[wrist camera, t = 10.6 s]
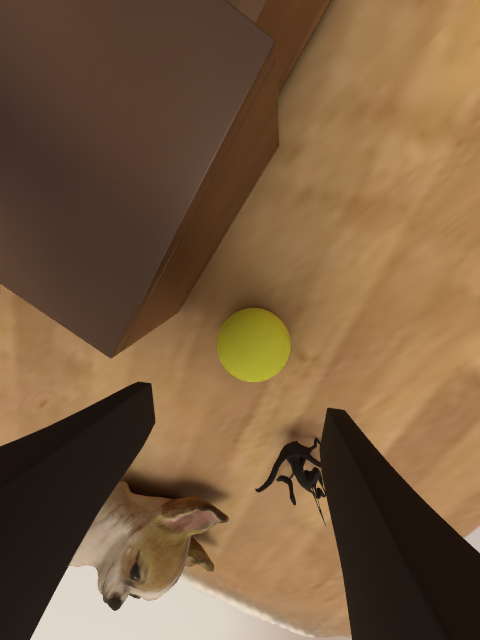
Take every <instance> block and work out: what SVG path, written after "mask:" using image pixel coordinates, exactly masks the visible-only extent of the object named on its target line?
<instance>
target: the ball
mask: <svg viewBox="0 0 480 640" xmlns="http://www.w3.org/2000/svg"><path fill="white" fill-rule="evenodd" d="M290 347H291V343H290V337H289V333H288V330H287V328H286V326H285V325H284V323H283V322H282V321H281V320H280V319H279V318H278V317H277V316H276V315H275V314H273V313H271V312H269V311H267V310H264V309H260V308H247V309H243V310H240V311H238V312H236V313H234V314H232V315H231V316H230V317H229V318H228V319H227V320H226V321H225V322H224V323H223V325H222V326H221V328H220V331H219V333H218V337H217V353H218V357H219V359H220V361H221V363H222V365H223V366H224V368H225V369H226V370H227V371H228V372H229V373H230V374H231V375H233V376H234V377H236V378H238V379H240V380H243V381H247V382H261V381H265V380H268V379H270V378H272V377H273V376H275V375H276V374H278V373H279V372H280V371H281V369H282V368H283V367H284V366H285V364H286V362H287V360H288V357H289V354H290Z"/></svg>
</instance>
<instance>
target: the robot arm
mask: <svg viewBox="0 0 480 640" xmlns="http://www.w3.org/2000/svg"><path fill="white" fill-rule="evenodd" d="M154 424H155V413H154V404H153V394H152V385H151V383H144V382H136V383H134V384H132V385H130V386H128V387H126V388H124V389H122V390H120V391H118V392H116V393H114V394H112V395H110V396H108V397H106V398H105V399H103V400H101V401H99V402H97V403H95V404H93V405H91V406H89V407H87V408H85V409H83V410H81V411H79V412H77V413H75V414H73V415H71V416H69V417H67V418H65V419H63V420H61V421H58V422H56V423H54V424H52V425H50V426H48V427H46V428H43V429H41V430H39V431H37V432H34V433H32V434H30V435H27V436H25V437H22V438H20V439H18V440H15V441H13V442H10V443H8V444H5V445H3V446H0V640H30V639H31V637H32V635H33V633H34V631H35V629H36V627H37V625H38V623H39V621H40V619H41V617H42V615H43V613H44V611H45V609H46V607H47V605H48V603H49V602H50V600H51V598H52V596H53V594H54V592H55V590H56V588H57V586H58V584H59V582H60V581H61V579H62V577H63V575H64V573H65V571H66V570H67V568H68V566H69V564H70V562H71V560H72V559H73V557H74V555H75V553H76V551H77V549H78V548H79V546H80V544H81V542H82V541H83V539H84V537H85V535H86V534H87V532H88V530H89V528H90V527H91V525H92V523H93V521H94V520H95V518H96V516H97V515H98V513H99V511H100V510H101V508H102V507H103V505H104V504H105V502H106V501H107V499H108V498H109V496H110V495H111V493H112V492H113V490H114V489H115V487H116V486H117V484H118V483H119V481H120V480H121V478H122V477H123V475H124V474H125V472H126V471H127V470H128V468H129V467H130V465H131V464H132V462H133V461H134V459H135V458H136V456H137V455H138V453H139V452H140V450H141V449H142V447H143V445H144V444H145V442H146V440H147V438H148V436H149V434H150V432H151V430H152V428H153V426H154ZM320 459H321V468H322V477H323V482H324V487H325V492H326V496H327V501H328V506H329V510H330V515H331V519H332V524H333V529H334V533H335V538H336V542H337V547H338V551H339V556H340V561H341V567H342V572H343V578H344V585H345V592H346V599H347V606H348V613H349V620H350V627H351V635H352V640H480V553H479V552H478V551H477V550H476V549H474V548H473V547H472V546H471V545H470V544H469V543H468V542H467V541H466V540H465V539H463V538H462V537H461V536H460V535H459V534H458V533H457V532H456V531H455V530H454V529H453V528H452V527H451V526H450V525H449V524H448V523H447V522H446V521H445V520H443V519H442V518H441V517H440V516H439V515H438V514H437V513H436V512H435V511H434V510H433V509H432V508H431V507H430V506H429V505H428V504H427V503H426V502H425V501H424V500H423V499H422V498H421V497H420V496H419V495H418V494H417V493H416V492H415V491H414V490H413V489H412V488H411V487H410V485H409V484H408V483H407V482H406V481H405V480H404V479H403V478H402V477H401V476H400V475H399V474H398V473H397V472H396V471H395V469H394V468H393V467H392V466H391V465H390V464H389V463H388V462H387V460H386V459H385V458H384V457H383V456H382V455H381V454H380V452H379V451H378V450H377V449H376V448H375V447H374V445H373V444H372V443H371V442H370V441H369V439H368V438H367V437H366V436H365V435H364V433H363V432H362V431H361V430H360V428H359V427H358V426H357V425H356V424H355V422H354V421H353V420H352V419H351V417H350V416H349V415H348V414H347V413H346V411H345V410H341V409H333V408H327V413H326V418H325V423H324V428H323V433H322V439H321V444H320Z"/></svg>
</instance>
